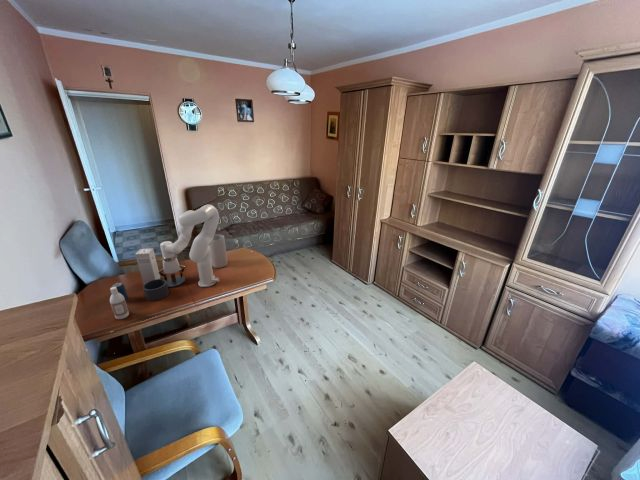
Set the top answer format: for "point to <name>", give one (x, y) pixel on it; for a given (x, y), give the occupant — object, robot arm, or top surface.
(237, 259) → the top surface
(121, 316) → the bath foam
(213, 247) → the cylinder vase
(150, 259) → the box
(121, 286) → the soda can
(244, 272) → the top surface
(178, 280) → the tin lid
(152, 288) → the tin
